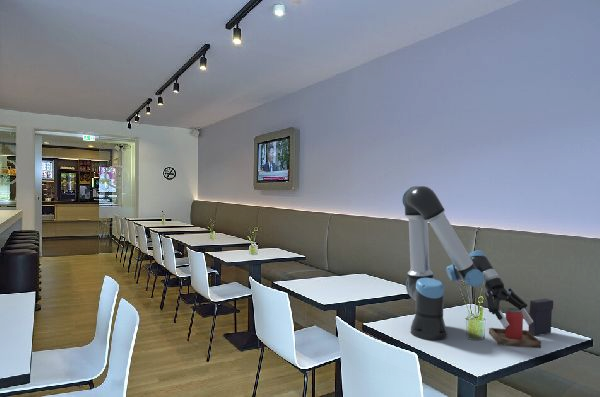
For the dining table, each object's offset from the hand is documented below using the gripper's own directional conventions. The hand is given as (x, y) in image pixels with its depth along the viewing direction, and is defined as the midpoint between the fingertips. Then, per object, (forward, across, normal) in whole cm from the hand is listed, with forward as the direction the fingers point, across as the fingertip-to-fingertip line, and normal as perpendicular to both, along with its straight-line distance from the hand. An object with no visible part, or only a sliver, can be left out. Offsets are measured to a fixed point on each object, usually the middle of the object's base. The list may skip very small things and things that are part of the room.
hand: (519, 324), depth 174 cm
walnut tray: (+4, 0, -7) cm, 8 cm away
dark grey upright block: (+2, -19, -9) cm, 21 cm away
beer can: (+3, 0, -6) cm, 7 cm away
